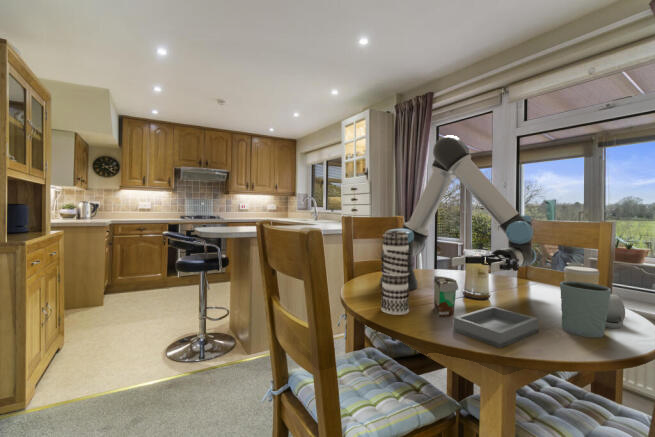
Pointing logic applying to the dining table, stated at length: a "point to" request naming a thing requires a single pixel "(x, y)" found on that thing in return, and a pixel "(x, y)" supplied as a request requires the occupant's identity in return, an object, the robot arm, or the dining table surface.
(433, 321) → the dining table surface
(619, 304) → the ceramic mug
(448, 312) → the food container
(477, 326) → the tray
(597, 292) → the teal tapered cylinder
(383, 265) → the decorative candle
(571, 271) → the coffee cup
